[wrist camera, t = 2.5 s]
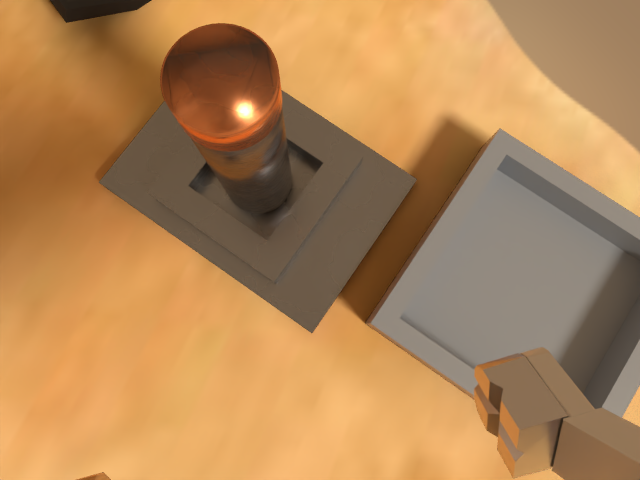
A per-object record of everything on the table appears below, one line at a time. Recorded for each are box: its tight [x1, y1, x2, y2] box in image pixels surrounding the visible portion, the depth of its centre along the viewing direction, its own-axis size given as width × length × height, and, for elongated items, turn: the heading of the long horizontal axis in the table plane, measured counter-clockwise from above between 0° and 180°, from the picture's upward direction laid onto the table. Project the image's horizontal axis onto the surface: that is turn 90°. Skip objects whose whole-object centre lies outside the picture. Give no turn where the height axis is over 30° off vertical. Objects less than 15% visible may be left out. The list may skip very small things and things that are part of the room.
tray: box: [365, 129, 640, 418], centre depth 24 cm, size 12×12×2 cm
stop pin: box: [160, 23, 292, 213], centre depth 20 cm, size 4×4×11 cm
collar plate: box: [99, 90, 417, 333], centre depth 25 cm, size 14×10×2 cm
